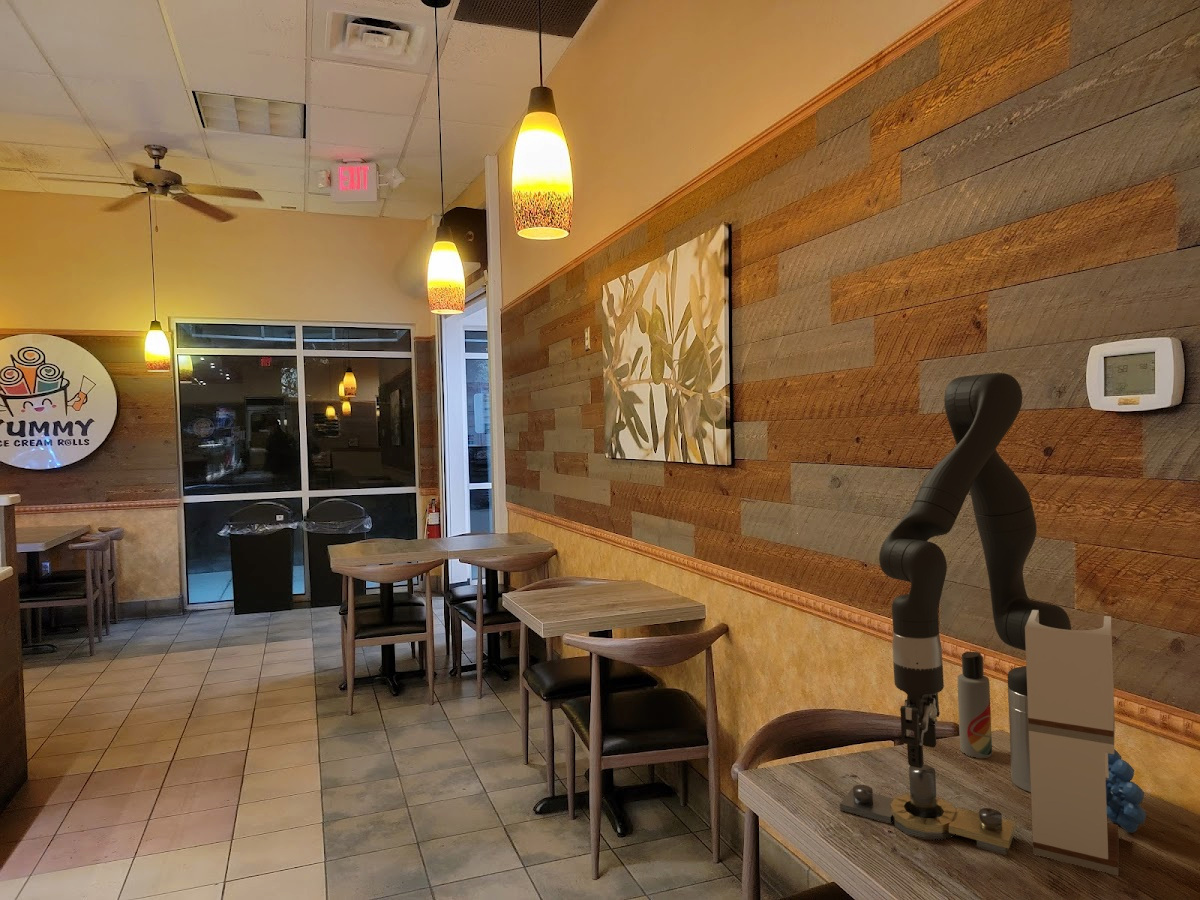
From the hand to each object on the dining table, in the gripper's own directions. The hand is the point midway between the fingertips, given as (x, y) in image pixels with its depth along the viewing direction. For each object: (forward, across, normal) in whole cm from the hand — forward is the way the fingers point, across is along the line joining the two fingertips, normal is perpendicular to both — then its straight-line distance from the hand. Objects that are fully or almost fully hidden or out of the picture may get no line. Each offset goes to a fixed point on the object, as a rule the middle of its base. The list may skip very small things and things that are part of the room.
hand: (922, 755), depth 123 cm
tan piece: (+11, 0, 0) cm, 11 cm away
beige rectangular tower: (+12, +5, -21) cm, 24 cm away
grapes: (+12, +15, -25) cm, 31 cm away
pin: (+11, 0, 0) cm, 11 cm away
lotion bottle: (+12, +32, -2) cm, 34 cm away
